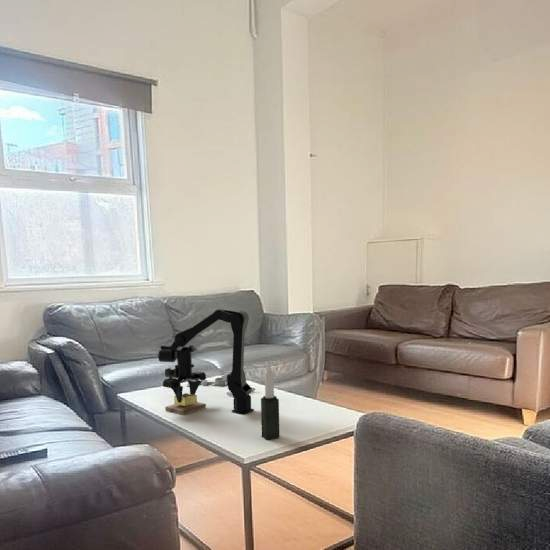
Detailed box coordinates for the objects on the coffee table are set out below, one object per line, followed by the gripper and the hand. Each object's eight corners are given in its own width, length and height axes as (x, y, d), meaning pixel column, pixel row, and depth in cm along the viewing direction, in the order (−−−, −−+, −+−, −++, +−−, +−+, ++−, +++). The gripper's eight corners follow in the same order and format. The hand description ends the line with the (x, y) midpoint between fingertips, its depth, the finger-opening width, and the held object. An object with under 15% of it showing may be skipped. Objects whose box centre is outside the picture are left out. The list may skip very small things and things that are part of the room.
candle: (260, 435, 163) (258, 362, 162) (274, 433, 165) (272, 360, 165) (266, 440, 158) (264, 364, 158) (280, 437, 160) (278, 363, 160)
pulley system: (246, 383, 242) (231, 376, 254) (246, 374, 241) (231, 368, 254) (197, 395, 226) (183, 387, 238) (196, 385, 226) (183, 378, 238)
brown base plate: (206, 407, 198) (205, 392, 198) (184, 415, 188) (183, 398, 188) (187, 403, 205) (187, 388, 205) (165, 410, 195) (165, 394, 195)
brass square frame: (196, 402, 197) (196, 394, 197) (185, 406, 192) (185, 398, 192) (186, 400, 201) (186, 392, 201) (174, 403, 196) (174, 396, 196)
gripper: (188, 356, 209) (189, 392, 209) (153, 364, 194) (154, 403, 194) (206, 359, 202) (207, 396, 202) (171, 367, 187) (173, 407, 187)
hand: (185, 400), depth 197 cm, fingers closed on brass square frame, 6 cm apart
